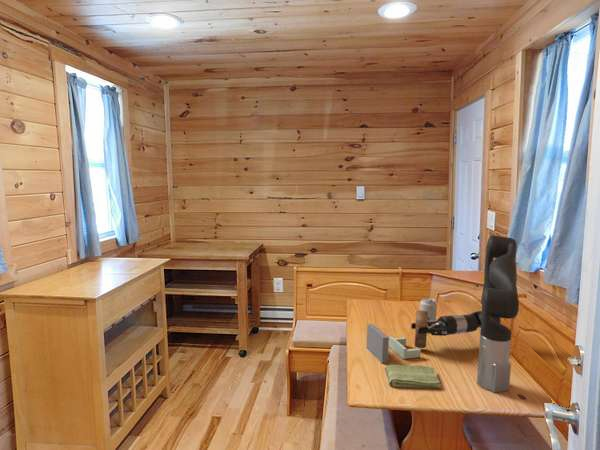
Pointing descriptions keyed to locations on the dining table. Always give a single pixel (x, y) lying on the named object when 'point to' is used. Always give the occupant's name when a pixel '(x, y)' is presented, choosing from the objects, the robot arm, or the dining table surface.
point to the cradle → (403, 348)
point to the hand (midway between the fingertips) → (415, 328)
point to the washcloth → (412, 376)
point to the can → (429, 307)
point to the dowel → (420, 322)
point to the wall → (377, 343)
